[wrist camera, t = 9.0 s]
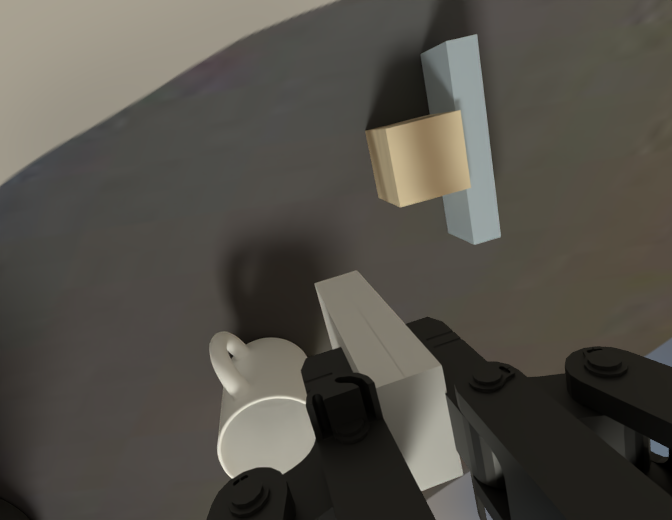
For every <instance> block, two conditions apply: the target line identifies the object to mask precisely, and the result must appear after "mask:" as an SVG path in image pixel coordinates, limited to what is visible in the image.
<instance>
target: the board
mask: <svg viewBox="0 0 672 520" xmlns="http://www.w3.org/2000/svg"><path fill="white" fill-rule="evenodd" d="M420 55H421V62H422V68H423V74H424V81H425V87H426V94H427V100H428V106H429V113H430V114H437V113H444V112H451V111H458V110H461V117H462V125H463V132H464V139H465V147H466V154H467V162H468V169H469V176H470V184H471V188H469V189H465V190H462V191H458V192H454V193H451V194H447V195H443V202H444V208H445V215H446V221H447V227H448V233H450V234H452V235H454V236H456V237H458V238H461V239H463V240H465V241H467V242H469V243H471V244H474V245H475V244H478V243H482V242H485V241H489V240H492V239H495V238H499V237H501V233H500V225H499V216H498V208H497V200H496V191H495V183H494V174H493V166H492V157H491V149H490V140H489V132H488V123H487V115H486V106H485V98H484V89H483V81H482V73H481V64H480V56H479V47H478V39H477V34H475V35H471V36H467V37H462V38H458V39H454V40H449V41H445V42H444V43H442V44H440V45H438V46H436V47H434V48H432V49H430V50H428V51H426V52H424V53H422V54H420Z"/></svg>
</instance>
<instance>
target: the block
mask: <svg viewBox="0 0 672 520" xmlns="http://www.w3.org/2000/svg"><path fill="white" fill-rule="evenodd" d="M365 132H366V137H367V142H368V147H369V152H370V157H371V162H372V167H373V172H374V177H375V182H376V187H377V191H378V196H379V198H380V199H382V200H385V201H387V202H389V203H392V204H394V205H396V206H398V207H403V206H407V205H411V204H414V203H418V202H422V201H425V200H429V199H432V198H436V197H440V196H443V195H447V194H451V193H454V192H458V191H462V190H465V189H469V188H471V184H470V176H469V169H468V162H467V154H466V147H465V139H464V132H463V125H462V117H461V110H458V111H451V112H444V113H437V114H430V115H426V116H422V117H418V118H414V119H410V120H406V121H402V122H398V123H394V124H390V125H386V126H382V127H378V128H374V129H370V130H366V131H365Z"/></svg>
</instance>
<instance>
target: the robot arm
mask: <svg viewBox="0 0 672 520" xmlns="http://www.w3.org/2000/svg"><path fill="white" fill-rule="evenodd" d="M314 284H315V288H316V291H317V295H318V299H319V302H320V306H321V309H322V313H323V316H324V320H325V323H326V327H327V331H328V334H329V338H330V341H331V345H332V348H333V350H330V351H327V352H324V353H321V354H318V355H315V356H312V357H309V358H306V359H305V361H304V364H303V366H302V369H301V374H302V378H303V382H304V386H305V390H306V394H307V397H306V409H307V412H308V415H309V418H310V421H311V425H312V428H313V431H314V434H315V437H316V439H315V443H314V446H313V447H312V449H311V451H310V453H309V454H308V455H307V456H306V457H305V458H304V459H303V460H302V461H301V462H300V463H299V464H297V465H296V466H295V467H293V468H292V469H290V470H289V471H287V472H286V473H284V474H282V473H281V472H280V471H278V470H276V469H273V468H271V467H257V468H254V469H251V470H248V471H244V472H242V473H241V474H239V475H237V476H236V477H234V478H233V479H231V480H230V481H229V482H228V483H227V484H226V485H225V486H224V487H223V488H222V489H221V490H220V491H219V492H218V494H217V496H216V498H215V500H214V501H213V503H212V505H211V508H210V511H209V514H208V517H207V520H435V517H434V515H433V514H432V512H431V510H430V508H429V506H428V504H427V502H426V500H425V498H424V496H423V494H422V492H421V491H423V490H425V489H428V488H430V487H433V486H436V485H438V484H441V483H443V482H446V481H449V480H451V479H454V478H456V477H459V476H462V475H463V472H462V467H461V461H460V456H461V458H462V459H463V461H464V462H465V464H466V465H467V467H468V468H469V469H470V472H471V477H472V483H473V488H474V494H475V499H476V504H477V510H478V514H479V517H480V519H481V520H487V519H486V513H485V508H486V510H487V511H488V513H489V514H490V516H491V517H492V519H493V520H672V367H670V366H667V365H665V364H662V363H659V362H656V361H654V360H651V359H648V358H645V357H642V356H640V355H637V354H634V353H631V352H629V351H625V350H621V349H617V348H613V347H600V346H597V347H589V348H583V349H580V350H578V351H575V352H573V353H571V354H570V355H569V356H568V357H567V358H566V362H565V374H557V375H548V376H540V377H526V376H525V375H524V374H523V373H522V372H520V371H519V370H518V369H516V368H514V367H512V366H511V365H509V364H504V363H500V362H487V361H486V360H485V359H484V358H483V357H481V356H480V355H479V354H478V353H477V352H476V351H475V350H474V349H473V348H471V347H470V346H469V345H468V344H467V343H466V342H465V341H464V340H461V339H460V337H459V336H458V335H457V334H456V333H455V332H453V331H452V330H451V329H450V328H449V327H448V326H447V325H446V324H445V323H443V322H442V321H439V320H436V319H433V318H430V317H425V318H422V319H419V320H416V321H413V322H410V323H407V324H404V322H403V321H402V320H401V319H400V318H399V317H398V316H397V315H396V314H395V312H394V311H393V310H392V309H391V308H390V307H389V306H388V305H387V303H386V302H385V301H384V300H383V299H382V298H381V297H380V296H379V295H378V293H377V292H376V291H375V290H374V289H373V288H372V287H371V286H370V284H369V283H368V282H367V281H366V280H365V279H364V278H363V277H362V276H361V274H360V273H359V272H358V271H357V270H356V271H353V272H350V273H346V274H343V275H340V276H337V277H333V278H330V279H327V280H324V281H320V282H317V283H314ZM650 439H652V440H654V441H656V442H658V443H660V444H662V445H664V446H666V447H667V448H669V457H663V456H660V455H658V454H655V453H653V452H651V450H650ZM459 455H460V456H459ZM484 507H485V508H484ZM0 520H30V519H29V518H28V517H27V516H26V515H25V514H24V513H22V512H21V511H20V510H19V509H17V508H16V507H14V506H13V505H11V504H10V503H8V502H6V501H4V500H2V499H0Z"/></svg>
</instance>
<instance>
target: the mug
mask: <svg viewBox="0 0 672 520" xmlns="http://www.w3.org/2000/svg"><path fill="white" fill-rule="evenodd" d="M227 350H228V351H229V352H230V353H231V354H232V355H233V357H232V359H231V358H230V356H229V354H228V351H227ZM209 352H210V358H211V362H212V365H213V367H214V370H215V372H216V374H217V376H218V378H219V379H220V381H221V383H222V384H223V396H222V405H221V415H220V424H219V434H218V444H217V452H218V457H219V461H220V463H221V465H222V467H223V469H224V470H225V472H226V473H227V474H228V475H229V476H230V477H231V478H232V479H233V478H234V477H236V476H237V475H239V474H241V473H242V472H244V471H248V470H251V469H254V468H257V467H271V468H273V469H276V470H278V471H280V472H281V473H282V474H284V473H286V472H287V471H289V470H290V469H292V468H293V467H295V466H296V465H297V464H299V463H300V462H301V461H302V460H303V459H304V458H305V457H306V456H307V455H308V454H309V453H310V451H311V449H312V447H313V446H314V443H315V439H316V437H315V434H314V431H313V428H312V425H311V421H310V418H309V415H308V412H307V409H306V397H307V394H306V390H305V386H304V382H303V378H302V374H301V369H302V366H303V364H304V361H305V359H306V358H307V356H306V355H305V353H304V352H303V351H302V350H301V349H300V348H299V347H298V346H297V345H295V344H294V343H292V342H290V341H288V340H285V339H281V338H272V337H270V338H262V339H258V340H254V341H252V342H250V343H248V344H245V343H244V342H242V341H241V340H240V339H239V338H238V337H237V336H235V335H233V334H232V333H229V332H219V333H217V334H215V335H214V336H213V337H212V339H211V342H210V345H209Z"/></svg>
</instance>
